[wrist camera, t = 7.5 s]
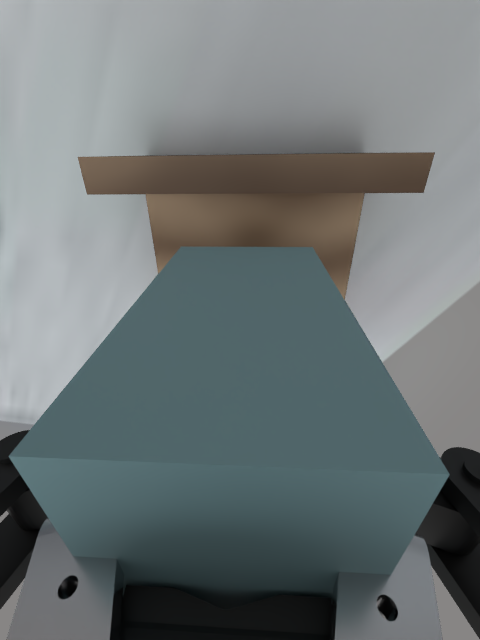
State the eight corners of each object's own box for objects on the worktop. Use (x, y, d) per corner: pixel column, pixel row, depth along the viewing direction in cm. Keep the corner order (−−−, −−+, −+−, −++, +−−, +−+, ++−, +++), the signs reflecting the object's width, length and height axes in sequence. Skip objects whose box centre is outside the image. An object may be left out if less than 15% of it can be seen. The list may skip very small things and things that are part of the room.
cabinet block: (181, 246, 10) (8, 456, 3) (312, 247, 10) (448, 474, 3) (199, 411, 14) (143, 664, 7) (293, 414, 14) (330, 678, 7)
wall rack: (147, 155, 20) (77, 157, 13) (364, 153, 20) (434, 152, 12) (171, 321, 27) (136, 388, 19) (334, 324, 26) (366, 396, 18)
